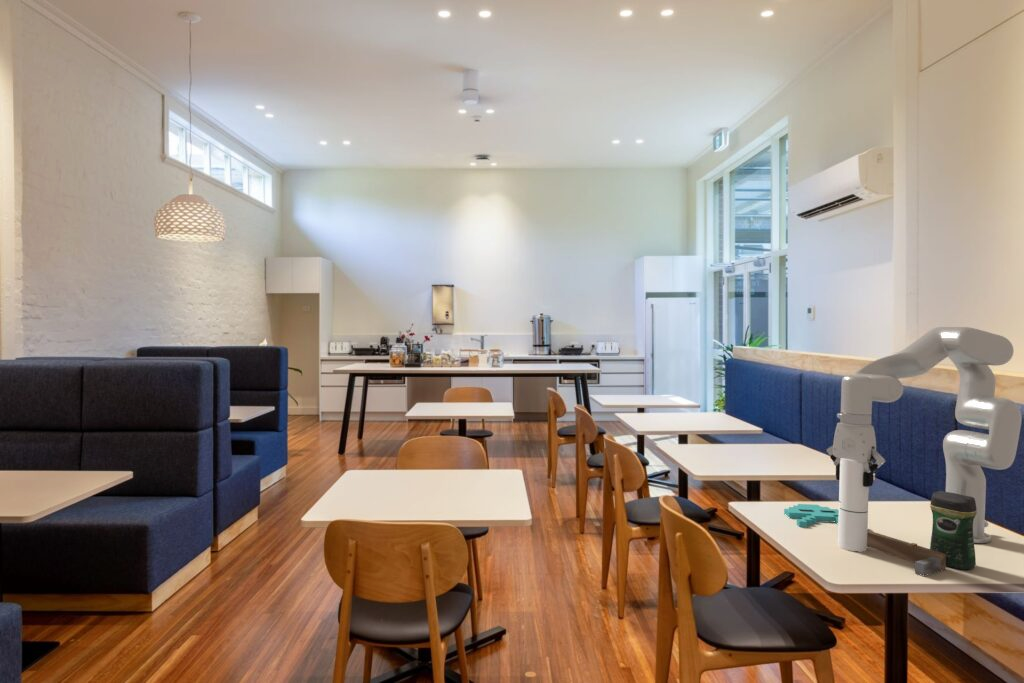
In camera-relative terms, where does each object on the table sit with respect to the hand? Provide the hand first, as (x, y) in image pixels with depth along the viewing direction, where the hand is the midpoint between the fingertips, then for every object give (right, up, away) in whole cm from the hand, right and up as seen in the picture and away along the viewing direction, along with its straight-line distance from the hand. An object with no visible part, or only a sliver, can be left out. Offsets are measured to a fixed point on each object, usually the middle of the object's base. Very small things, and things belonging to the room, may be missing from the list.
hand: (853, 482), depth 168 cm
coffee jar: (+20, -19, -11) cm, 29 cm away
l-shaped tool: (+4, -18, -5) cm, 20 cm away
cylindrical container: (0, -18, 0) cm, 18 cm away
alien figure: (+4, -19, +26) cm, 33 cm away
